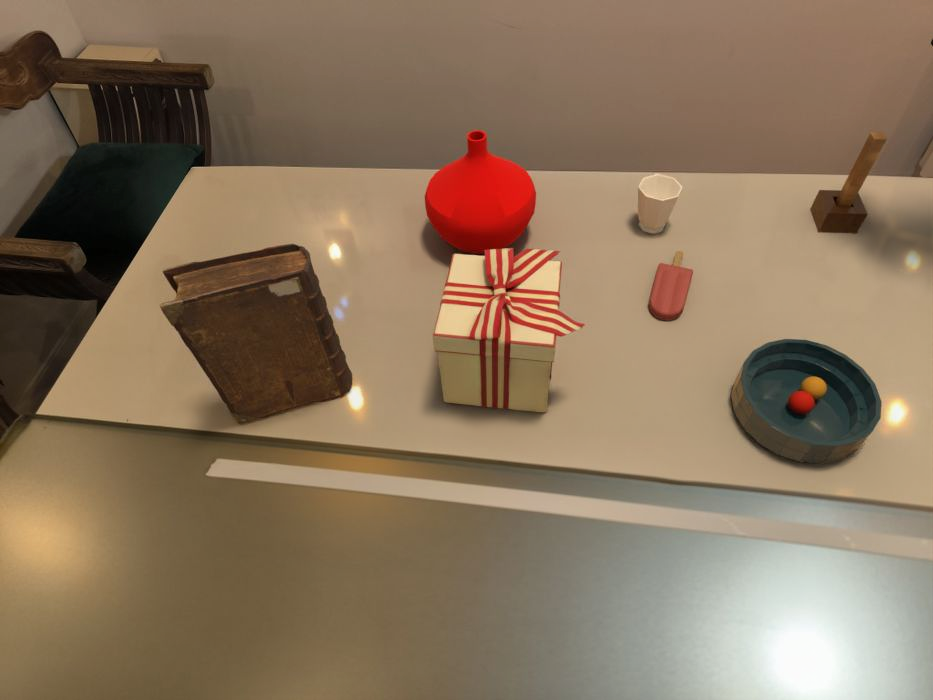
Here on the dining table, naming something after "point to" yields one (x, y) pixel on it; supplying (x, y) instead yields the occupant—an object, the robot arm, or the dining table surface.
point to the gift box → (500, 328)
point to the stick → (861, 169)
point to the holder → (837, 213)
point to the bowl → (834, 415)
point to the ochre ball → (814, 387)
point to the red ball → (801, 402)
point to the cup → (656, 201)
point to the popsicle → (670, 289)
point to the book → (259, 330)
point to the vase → (480, 199)
